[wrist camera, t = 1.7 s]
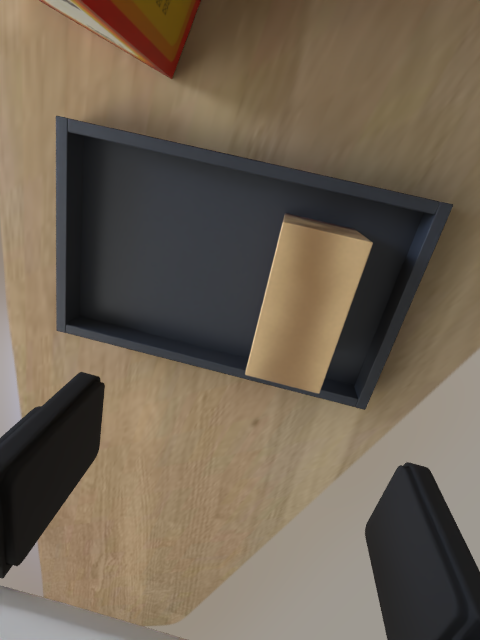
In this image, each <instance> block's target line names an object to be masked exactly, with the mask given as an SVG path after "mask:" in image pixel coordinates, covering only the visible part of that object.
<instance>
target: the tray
mask: <svg viewBox="0 0 480 640" xmlns="http://www.w3.org/2000/svg"><path fill="white" fill-rule="evenodd" d="M452 207H453V204H449V203H444V202H439V201H435V200H431V199H426V198H422V197H417V196H413V195H408V194H404V193H399V192H395V191H390V190H386V189H381V188H377V187H373V186H368V185H364V184H359V183H355V182H350V181H346V180H341V179H337V178H332V177H328V176H323V175H319V174H315V173H310V172H306V171H301V170H297V169H292V168H288V167H283V166H279V165H274V164H270V163H265V162H261V161H256V160H252V159H248V158H243V157H239V156H234V155H230V154H225V153H221V152H216V151H212V150H207V149H203V148H198V147H194V146H189V145H185V144H181V143H176V142H172V141H167V140H163V139H158V138H154V137H149V136H145V135H140V134H136V133H131V132H127V131H123V130H118V129H114V128H109V127H105V126H100V125H96V124H91V123H87V122H82V121H78V120H73V119H69V118H65V117H60V116H56V301H57V331H60V332H64V333H69V334H73V335H76V336H80V337H84V338H88V339H92V340H96V341H100V342H104V343H108V344H112V345H115V346H119V347H123V348H127V349H131V350H135V351H139V352H143V353H147V354H150V355H154V356H158V357H162V358H166V359H170V360H174V361H178V362H182V363H186V364H189V365H193V366H197V367H201V368H205V369H209V370H213V371H217V372H221V373H224V374H228V375H232V376H236V377H240V378H244V379H248V380H252V381H256V382H260V383H263V384H267V385H271V386H275V387H279V388H283V389H287V390H291V391H295V392H298V393H302V394H306V395H310V396H314V397H318V398H322V399H326V400H330V401H334V402H337V403H341V404H345V405H349V406H353V407H356V408H360V409H364V410H365V409H366V407H367V404H368V402H369V400H370V397H371V395H372V393H373V390H374V388H375V386H376V383H377V381H378V379H379V376H380V374H381V372H382V370H383V367H384V365H385V363H386V360H387V358H388V356H389V353H390V351H391V349H392V346H393V344H394V342H395V339H396V337H397V335H398V332H399V330H400V328H401V325H402V323H403V321H404V318H405V316H406V314H407V311H408V309H409V307H410V304H411V302H412V300H413V298H414V295H415V293H416V291H417V288H418V286H419V284H420V281H421V279H422V277H423V274H424V272H425V270H426V267H427V265H428V263H429V260H430V258H431V256H432V253H433V251H434V249H435V246H436V244H437V242H438V239H439V237H440V235H441V232H442V230H443V228H444V226H445V223H446V221H447V219H448V216H449V214H450V212H451V209H452ZM285 213H288V214H292V215H296V216H301V217H305V218H309V219H314V220H318V221H322V222H327V223H331V224H335V225H340V226H344V227H348V228H353V229H355V230H356V231H358V232H359V233H360V234H362V235H363V236H365V237H366V238H367V239H369V240H370V241H371V242H373V245H372V248H371V250H370V253H369V256H368V259H367V262H366V264H365V267H364V270H363V273H362V276H361V278H360V281H359V284H358V287H357V290H356V292H355V295H354V298H353V301H352V304H351V306H350V309H349V312H348V315H347V318H346V320H345V323H344V326H343V329H342V331H341V334H340V337H339V340H338V343H337V345H336V348H335V351H334V354H333V357H332V359H331V362H330V365H329V368H328V371H327V373H326V376H325V379H324V382H323V385H322V387H321V390H320V393H319V394H318V393H314V392H310V391H306V390H302V389H299V388H295V387H291V386H287V385H283V384H279V383H275V382H271V381H267V380H263V379H260V378H256V377H252V376H248V375H245V372H246V368H247V364H248V360H249V356H250V351H251V347H252V343H253V339H254V335H255V331H256V327H257V323H258V319H259V315H260V311H261V307H262V303H263V299H264V295H265V291H266V287H267V283H268V279H269V275H270V271H271V267H272V263H273V259H274V255H275V251H276V247H277V243H278V239H279V235H280V231H281V227H282V223H283V219H284V215H285Z"/></svg>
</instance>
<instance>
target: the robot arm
mask: <svg viewBox="0 0 480 640" xmlns="http://www.w3.org/2000/svg"><path fill="white" fill-rule="evenodd" d="M104 388H105V385H104V383H102V382H100V377H98V376H94V375H91V374H87V373H83V372H80V373H78V374H77V375H76V376H75V377H74V378H73V379H72V380H71V381H69V382H68V383H67V384H66V385H65V386H64V387H63V388H62V389H61V390H59V391H58V392H57V393H56V394H55V395H54V396H53V397H52V398H51V399H49V400H48V401H47V402H46V403H45V404H44V405H43V406H42V407H40V406H39V407H36V408H34V409H33V410H31V411H30V412H29V413H28V414H27V415H26V416H25V417H23V418H22V419H21V420H20V421H19V422H18V423H17V424H15V425H14V426H13V427H12V428H11V429H10V430H9V431H8V432H6V433H5V434H4V435H3V436H2V437H1V438H0V578H4V577H5V575H6V574H7V572H8V571H9V570H10V568H11V567H12V565H15V566H18V565H19V564H20V563H22V561H23V560H24V559H25V557H26V556H27V555H28V553H29V552H30V550H31V549H32V547H33V546H34V545H35V543H36V542H37V540H38V539H39V538H40V536H41V535H42V533H43V532H44V530H45V529H46V528H47V526H48V525H49V523H50V522H51V521H52V519H53V518H54V516H55V515H56V513H57V512H58V511H59V509H60V508H61V506H62V505H63V503H64V502H65V501H66V499H67V498H68V496H69V495H70V494H71V492H72V491H73V489H74V488H75V486H76V485H77V484H78V482H79V481H80V479H81V478H82V477H83V475H84V474H85V472H86V471H87V469H88V468H89V467H90V465H91V464H92V462H93V461H94V459H95V458H96V456H97V453H98V451H99V445H100V434H101V422H102V411H103V399H104ZM365 536H366V542H367V546H368V551H369V556H370V560H371V565H372V569H373V574H374V579H375V583H376V588H377V593H378V597H379V602H380V607H381V611H382V616H383V621H384V625H385V630H386V635H387V639H388V640H480V572H479V569H478V567H477V565H476V563H475V561H474V559H473V557H472V555H471V553H470V551H469V549H468V547H467V545H466V543H465V541H464V539H463V537H462V534H461V533H460V530H459V529H458V526H457V524H456V522H455V520H454V518H453V516H452V514H451V512H450V510H449V508H448V506H447V504H446V502H445V500H444V498H443V496H442V494H441V492H440V490H439V488H438V485H437V483H436V481H435V479H434V477H433V475H432V473H431V471H430V470H429V469H428V468H426V467H424V466H420V465H416V464H412V463H405V464H404V465H403V466H399V467H398V468H397V469H396V471H395V473H394V475H393V477H392V478H391V480H390V482H389V484H388V486H387V488H386V490H385V491H384V493H383V495H382V497H381V498H380V501H379V502H378V504H377V506H376V508H375V510H374V511H373V513H372V515H371V517H370V519H369V521H368V522H367V524H366V529H365ZM0 640H187V639H183V638H180V637H177V636H173V635H170V634H167V633H164V632H160V631H157V630H153V629H150V628H147V627H143V626H140V625H137V624H133V623H130V622H126V621H123V620H120V619H116V618H113V617H110V616H106V615H103V614H99V613H96V612H93V611H89V610H86V609H83V608H79V607H76V606H72V605H69V604H66V603H62V602H59V601H55V600H51V599H48V598H44V597H40V596H37V595H33V594H29V593H26V592H22V591H18V590H14V589H11V588H7V587H4V586H0Z"/></svg>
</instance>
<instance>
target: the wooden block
mask: <svg viewBox="0 0 480 640" xmlns="http://www.w3.org/2000/svg"><path fill="white" fill-rule="evenodd" d="M372 245H373V242H371V241H370V240H369V239H367V238H366V237H365V236H363V235H362V234H360V233H359V232H358V231H356V230H355V229H353V228H348V227H344V226H340V225H335V224H331V223H327V222H322V221H318V220H314V219H309V218H305V217H301V216H296V215H292V214H288V213H285V215H284V219H283V223H282V227H281V231H280V235H279V239H278V243H277V247H276V251H275V255H274V259H273V263H272V267H271V271H270V275H269V279H268V283H267V287H266V291H265V295H264V299H263V303H262V307H261V311H260V315H259V319H258V323H257V327H256V331H255V335H254V339H253V343H252V347H251V351H250V356H249V360H248V364H247V368H246V372H245V375H248V376H252V377H256V378H260V379H263V380H267V381H271V382H275V383H279V384H283V385H287V386H291V387H295V388H299V389H302V390H306V391H310V392H314V393H318V394H319V393H320V390H321V387H322V385H323V382H324V379H325V376H326V373H327V371H328V368H329V365H330V362H331V359H332V357H333V354H334V351H335V348H336V345H337V343H338V340H339V337H340V334H341V331H342V329H343V326H344V323H345V320H346V318H347V315H348V312H349V309H350V306H351V304H352V301H353V298H354V295H355V292H356V290H357V287H358V284H359V281H360V278H361V276H362V273H363V270H364V267H365V264H366V262H367V259H368V256H369V253H370V250H371V248H372Z"/></svg>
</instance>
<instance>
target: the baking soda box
mask: <svg viewBox="0 0 480 640" xmlns="http://www.w3.org/2000/svg"><path fill="white" fill-rule="evenodd" d="M40 1H41V2H43V3H44V4H46V5H48V6H50V7H51V8H53V9H55V10H56V11H58V12H60V13H61V14H63V15H65V16H66V17H68V18H70V19H71V20H73V21H75V22H76V23H78V24H80V25H81V26H83V27H85V28H87V29H88V30H90V31H92V32H93V33H95V34H97V35H98V36H100V37H102V38H103V39H105V40H107V41H108V42H110V43H112V44H113V45H115V46H117V47H119V48H120V49H122V50H124V51H125V52H127V53H129V54H130V55H132V56H134V57H135V58H137V59H139V60H140V61H142V62H144V63H145V64H147V65H149V66H150V67H152V68H154V69H156V70H157V71H159V72H161V73H162V74H164V75H166V76H167V77H169V78H171V79H172V78H173V75H174V72H175V69H176V67H177V64H178V61H179V59H180V56H181V53H182V50H183V48H184V45H185V42H186V39H187V37H188V34H189V31H190V29H191V26H192V23H193V20H194V18H195V15H196V12H197V10H198V7H199V4H200V1H201V0H40Z"/></svg>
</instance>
